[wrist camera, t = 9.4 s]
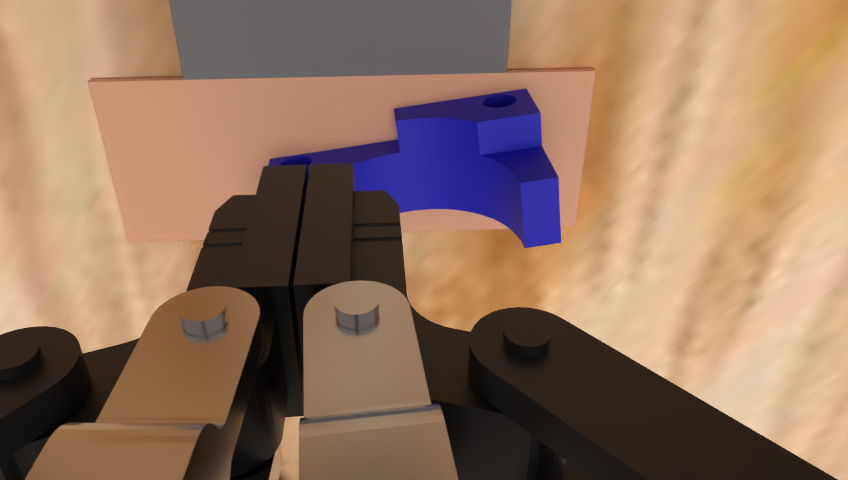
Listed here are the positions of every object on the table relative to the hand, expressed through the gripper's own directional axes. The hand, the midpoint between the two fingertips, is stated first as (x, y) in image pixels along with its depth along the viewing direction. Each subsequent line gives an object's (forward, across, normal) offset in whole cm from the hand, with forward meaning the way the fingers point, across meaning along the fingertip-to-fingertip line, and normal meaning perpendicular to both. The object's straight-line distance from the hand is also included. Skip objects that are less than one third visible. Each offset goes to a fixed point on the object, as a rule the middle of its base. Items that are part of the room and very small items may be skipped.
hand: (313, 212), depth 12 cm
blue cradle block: (+20, -2, +8) cm, 21 cm away
